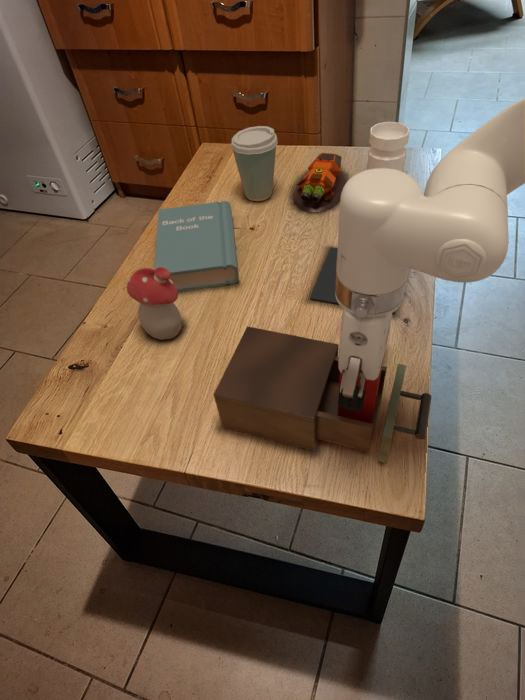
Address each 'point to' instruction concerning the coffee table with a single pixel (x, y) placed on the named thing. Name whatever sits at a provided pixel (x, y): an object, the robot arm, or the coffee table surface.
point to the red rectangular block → (369, 400)
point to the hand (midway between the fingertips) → (358, 378)
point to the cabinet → (275, 386)
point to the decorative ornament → (156, 302)
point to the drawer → (361, 432)
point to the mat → (327, 280)
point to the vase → (388, 146)
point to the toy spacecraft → (320, 184)
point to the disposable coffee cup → (255, 160)
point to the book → (197, 245)
